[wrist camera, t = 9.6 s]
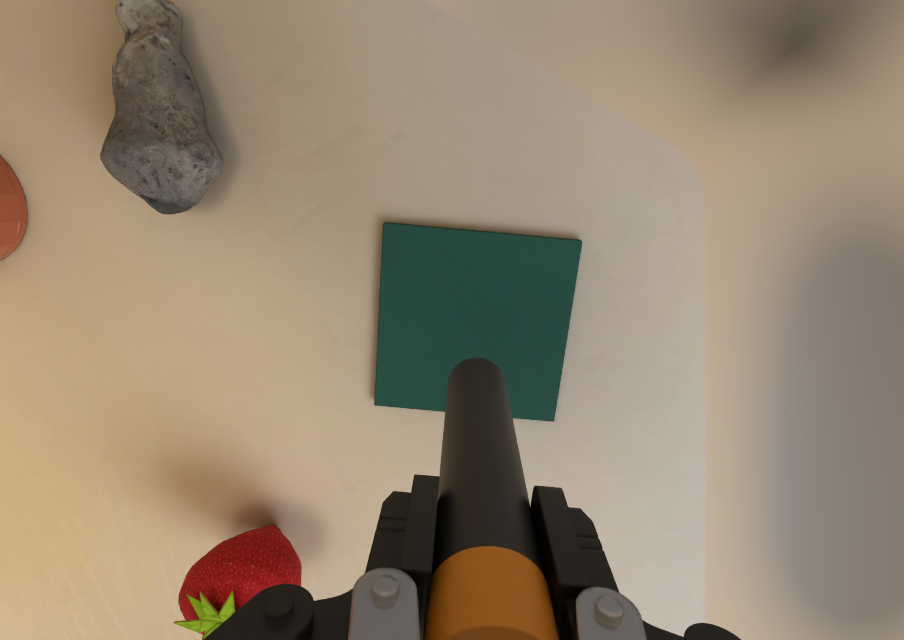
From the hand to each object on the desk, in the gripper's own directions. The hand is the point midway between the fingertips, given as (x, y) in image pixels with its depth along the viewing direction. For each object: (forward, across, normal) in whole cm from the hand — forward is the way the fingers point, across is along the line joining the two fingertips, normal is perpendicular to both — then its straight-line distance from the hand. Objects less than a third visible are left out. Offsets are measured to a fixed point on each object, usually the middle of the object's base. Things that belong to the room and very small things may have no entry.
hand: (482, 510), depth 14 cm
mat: (+19, 0, 0) cm, 19 cm away
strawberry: (+19, +13, +17) cm, 29 cm away
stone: (+19, +18, -11) cm, 28 cm away
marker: (+9, 0, 0) cm, 9 cm away
